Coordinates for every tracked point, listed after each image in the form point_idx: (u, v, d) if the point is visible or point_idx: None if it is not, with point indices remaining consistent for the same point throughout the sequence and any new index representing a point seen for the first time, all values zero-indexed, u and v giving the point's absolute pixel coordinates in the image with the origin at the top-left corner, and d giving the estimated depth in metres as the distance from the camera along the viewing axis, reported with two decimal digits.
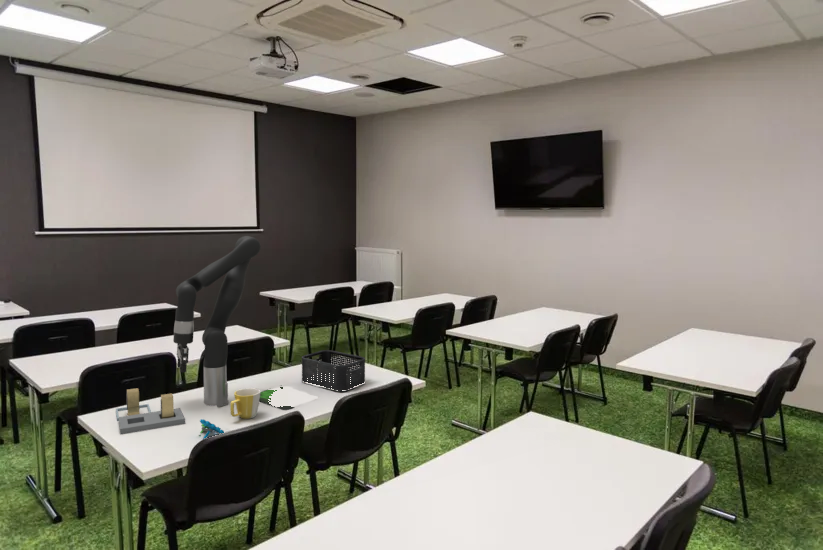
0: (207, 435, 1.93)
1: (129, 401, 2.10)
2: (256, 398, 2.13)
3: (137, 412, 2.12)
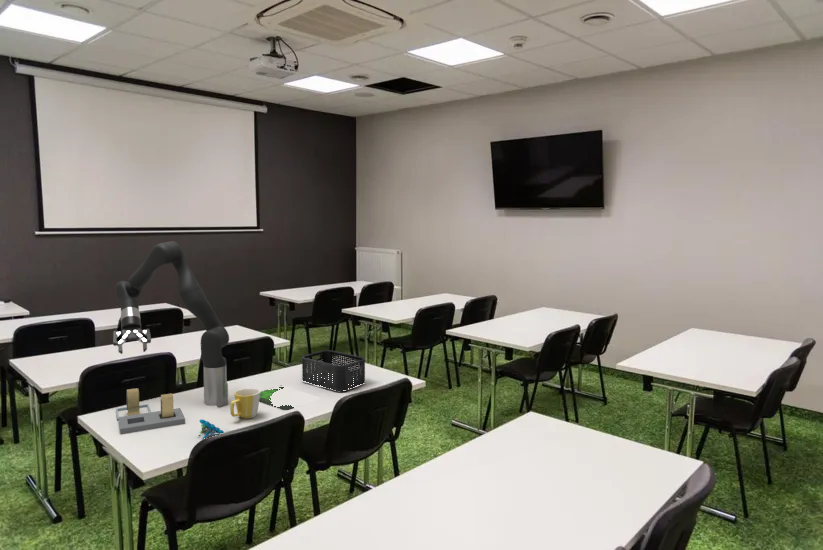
0: (206, 435, 1.93)
1: (129, 401, 2.10)
2: (256, 398, 2.13)
3: (137, 412, 2.12)
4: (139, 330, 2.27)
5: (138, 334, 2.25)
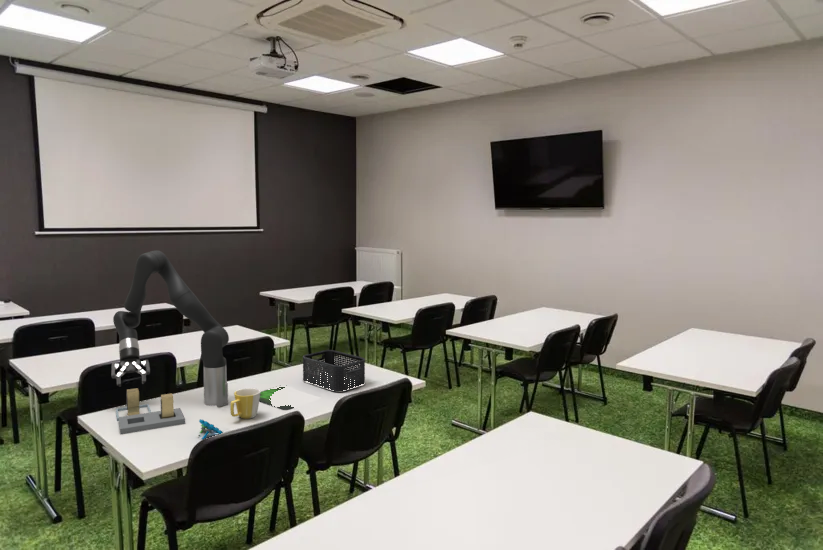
0: (206, 435, 1.93)
1: (129, 401, 2.10)
2: (256, 398, 2.13)
3: (137, 412, 2.12)
4: (138, 361, 2.23)
5: (137, 366, 2.21)
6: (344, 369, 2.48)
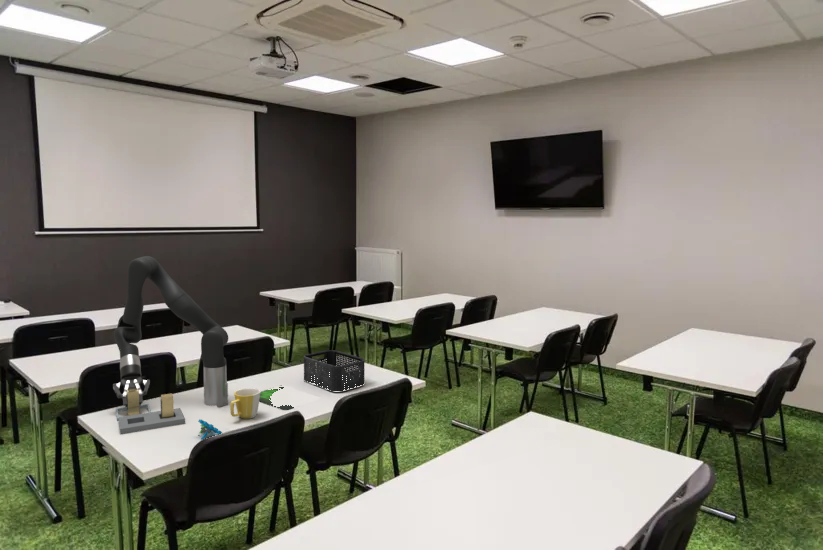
0: (205, 435, 1.93)
1: (129, 401, 2.10)
2: (256, 398, 2.13)
3: (137, 412, 2.12)
4: (139, 379, 2.17)
5: (136, 384, 2.15)
6: (342, 369, 2.47)
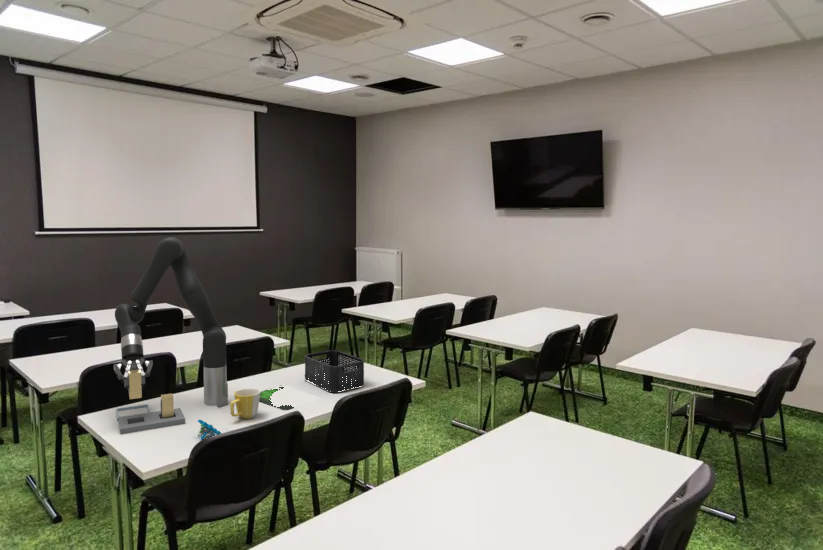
0: (204, 435, 1.93)
1: (131, 382, 1.97)
2: (256, 398, 2.13)
3: (139, 394, 1.99)
4: (142, 360, 2.04)
5: (139, 365, 2.02)
6: (339, 370, 2.46)
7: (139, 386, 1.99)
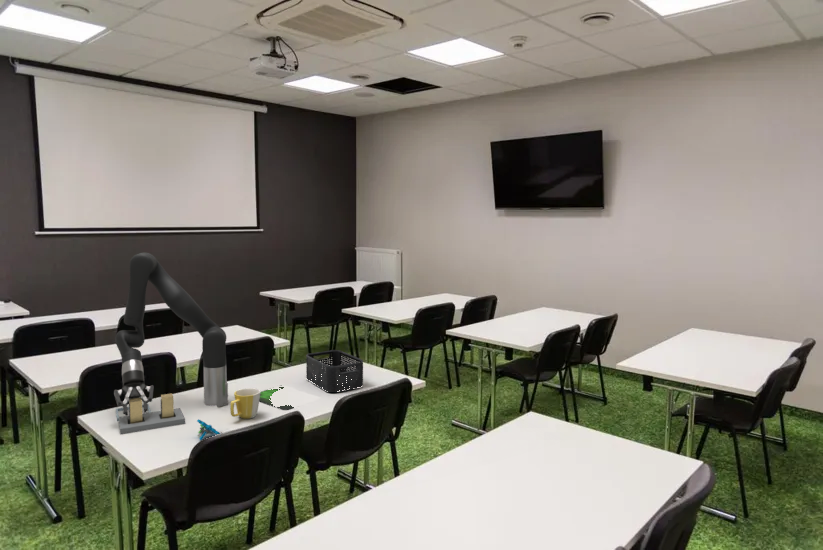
0: (203, 436, 1.92)
1: (132, 411, 1.98)
2: (256, 398, 2.13)
3: None
4: (142, 386, 2.05)
5: (140, 391, 2.03)
6: (337, 370, 2.46)
7: (140, 415, 2.00)
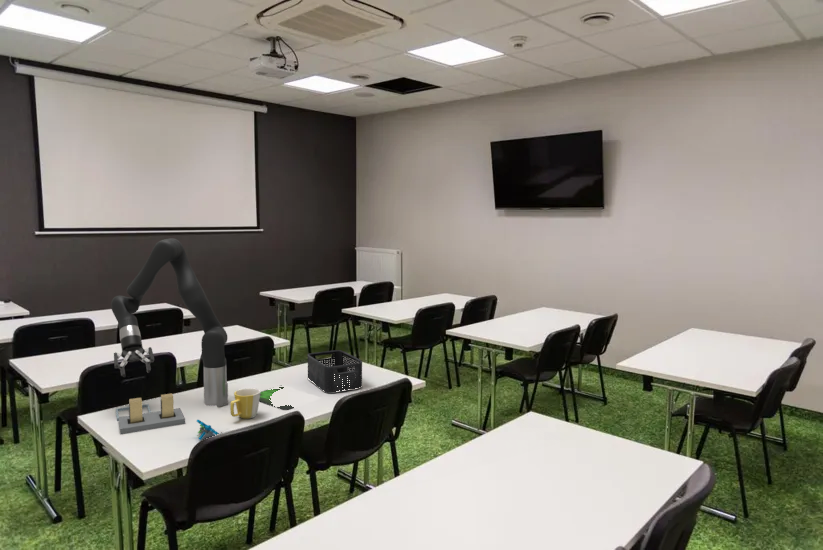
0: (202, 436, 1.92)
1: (132, 411, 1.98)
2: (256, 398, 2.13)
3: None
4: (141, 350, 2.15)
5: (140, 354, 2.14)
6: (334, 370, 2.45)
7: (140, 415, 2.00)
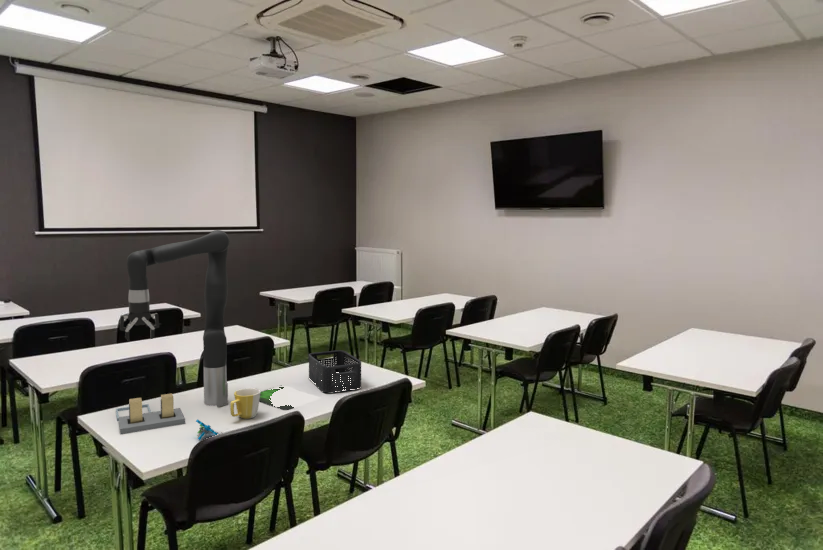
0: (201, 436, 1.92)
1: (132, 411, 1.98)
2: (256, 398, 2.13)
3: None
4: (147, 316, 2.16)
5: (146, 322, 2.15)
6: (332, 370, 2.45)
7: (140, 415, 2.00)
